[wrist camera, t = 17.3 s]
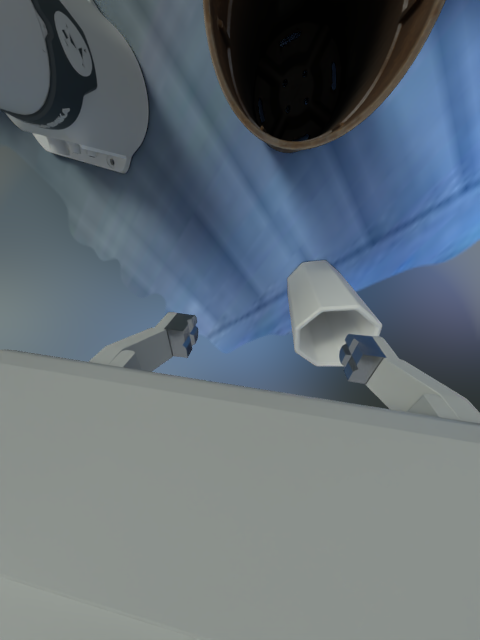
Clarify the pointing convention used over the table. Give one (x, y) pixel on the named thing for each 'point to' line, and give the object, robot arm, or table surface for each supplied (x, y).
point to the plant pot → (313, 61)
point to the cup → (325, 313)
